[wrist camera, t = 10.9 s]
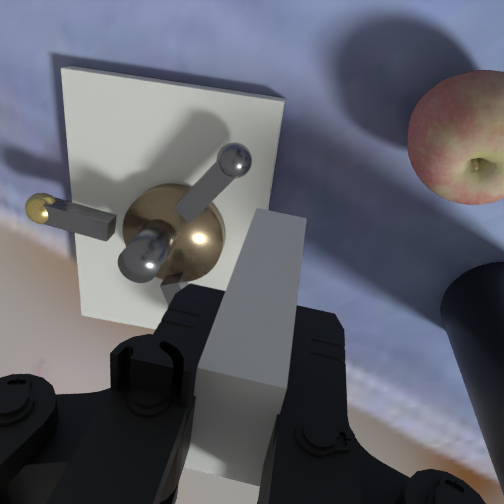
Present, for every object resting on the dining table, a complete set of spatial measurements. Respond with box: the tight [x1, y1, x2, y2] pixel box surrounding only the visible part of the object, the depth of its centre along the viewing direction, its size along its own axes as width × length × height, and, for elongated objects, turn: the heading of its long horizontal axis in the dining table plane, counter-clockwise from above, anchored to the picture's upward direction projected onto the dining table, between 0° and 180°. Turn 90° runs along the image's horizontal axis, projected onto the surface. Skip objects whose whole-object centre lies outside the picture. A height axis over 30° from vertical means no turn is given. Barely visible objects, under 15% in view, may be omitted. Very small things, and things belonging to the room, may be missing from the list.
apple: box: [407, 70, 504, 205], centre depth 27 cm, size 8×8×8 cm
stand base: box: [61, 66, 285, 329], centre depth 32 cm, size 22×16×11 cm
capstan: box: [25, 142, 252, 306], centre depth 33 cm, size 16×18×6 cm
